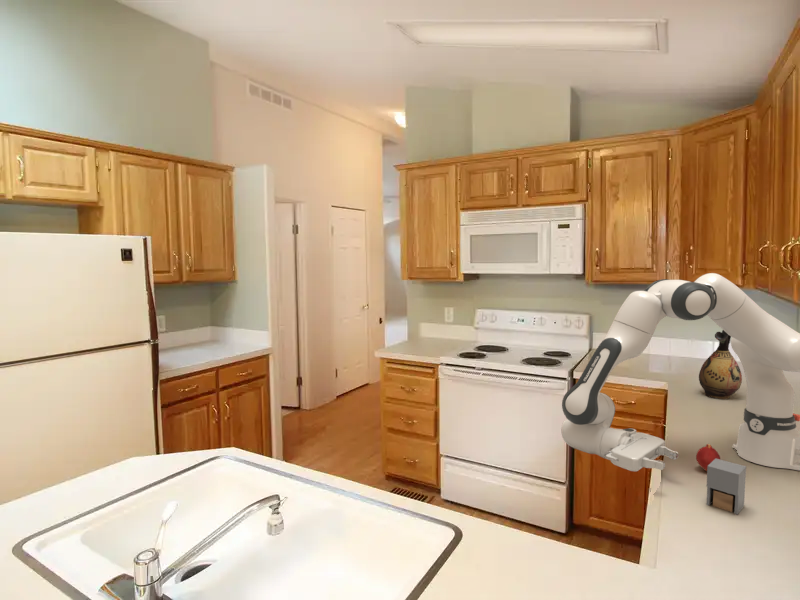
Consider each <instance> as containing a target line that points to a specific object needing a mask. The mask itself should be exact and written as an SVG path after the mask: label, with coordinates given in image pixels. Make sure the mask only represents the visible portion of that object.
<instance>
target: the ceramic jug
mask: <svg viewBox="0 0 800 600" xmlns="http://www.w3.org/2000/svg"><path fill="white" fill-rule="evenodd" d="M714 338H715V339H716V340H717V341H719V342H718V346H717V348H716V350H714V351H713V352H712V353H711V354H710V355H709V356H708V357H707V358H706V360H705V361H704V362H703V363H702V365H701V367H700V369H699V374H698V381H699V384H700V386H701V387H702V389H703V391H704V396H706V397H709V398H711V399H712V398H713V399H719V400H729V399H730V398H731V397H732V396H733V395H734V394H735V393H736V392H737V391H739V390H740V387H741V386H742V382H743V377H742V370H741V368H740V366H739V364H738V362H737V360H736V359H735V358H734V356H733V355H732V353H731V352H730V349H729V347H730V344H731V339H732V337H731V336H730V335H728V334H727V333H726V332H725V331H724V330H723V329H721V331H716V332H715V334H714Z"/></svg>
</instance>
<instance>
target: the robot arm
mask: <svg viewBox="0 0 800 600" xmlns="http://www.w3.org/2000/svg"><path fill="white" fill-rule="evenodd" d="M707 316H708V317H709V318H710V319H711V320H712V321H713V322H714V323H715V324H716V325H718V327H719V328H720V329H721V330H724V331H725V332H726V333H727V334H728V335H730V336H731V338H730V345H731V349H732V351H734V353H735V355H736V356H737V358H738V359H739V361H740V364H741V367H742V370H743V372H744V377H745V380H746V381H745V382H746V405H745V406H746V407H745V408H744V411H743V422H741V423H740V424H739V428H738V433H737V434H738V435H737V441H736V443H733V444H732V448H733V447H734V448H735V449H736V450H737V451H736V450H735V449H734V450H735V451H736V454H737V453H738V454H737V456H739V457H740V458H742V459H743V460H746V461H747V462H752V463H754V464H757V465H761V466H766V467H770V468H776V469H777V468H778V469H790V470H794V471H800V430H799V429H798V428H797V422H800V413H799V414H797V413H794V402H795V390H794V387H793V385H792V384H791V382H789V381H788V380H787V378H786V376H785V374H784V371H785V372H792V373H793V372H794V373H800V332H798V331H796V330H795V329H793V328H792V327H790V326H789V325H787V324H786V323H784V322H783V321H781V320H779V319H778V318H776V317H775V316H773V315H771V314H770V313H768V312H767V311H765V310H764V309H763V308H762V307H761V306H760V305H758V303H756V302H755V301H754V300H753V299H752V298H751V297H750V296H749V295H748V294H746V292H745V291H743V290H742V289H741V288H740V287H738V286H737V285H736V284H735V283H733V282H732V281H731V280H729V279H727V278H726V277H724V276H723V275H720V274H719V273H715V272H711V273H710V272H709V273H705V274H702V275H701V276H699V277H697V278H696V279H695V280H694V281H689V280H683V279H668V278H664V279H658V280H655V281H653V282H651V283H650V284H648V286H647V287H646V288H645V289H644V290H634V291H632V292H631V293H630V294H629V295H628V296H627V298H626V299H625V300H624V301H623V303H622V305H621V306H620V308H619V309H618V311H617V313H616V314H615V316H614V319H613V320H612V323H611V325H610V327H609V329H608V331H607V332H606V335H605V336H604V338H603V340H602V341H601V342H600V343H599V345H598V346H597V348H596V349H595V351H594V353H593V354H592V356H591V357H590V359H589V361H588V363H587V365H586V366H585V368H584V370H583V371H582V373H581V375H580V377H579V378H578V380H577V381H576V383H575V384H574V385H572V387H571V388H569V390H567V392H566V393H565V394H564V395H563V397H562V400H561V402H562V403H561V409H562V411H563V414H564V416H565V419H564V421H563V422H562V425H561V428H560V429H561V437H562V440H563V442H564V443H566V445H568V446H569V447H571V448H572V449H576V450H578V451H580V452H583V453H587V454H590V455H597V456H599V457H600V458H603V459H604V460H605V459H606V460H608V461H610V463H612V464H613V465H614V466H617V467H619V468H621V469H624V470H627V471H630V472H638V471H639V470H641V469H643V468H646V469H657V470H660V471H663V470H664V469H665V468H666V462H665V461H662V460H660V459H657V458H659V457H660V456H666V457H668V459H670V460H677V459H678V458H679V452H678V451H676V450H675V451H674V450H671V448H668V447H667V446H666V441H665V440H664V439H663V438H660V437H658V436H654V435H651V434H650V433H644V432H640V431H639V432H637V429H635V428H613V427H611V425H612V423H613V421H614V417H615V413H616V405H615V403H614V401H613V399H612V398H611V396H610V395H607V394H606V393H605V392H604V393H603V392H601V390H602V389H603V387H604V386H605V384H606V381H607V380H608V378H609V377H610V375H611V373H612V371H613V370H614V369H615V368H616V367H617V366H618V365H619V364H622V363H623V362H626V361H627V360H631V359H634V358H637V357H638V356H640V355H641V354H643V352H644V351H645V349H647V347H648V345H649V343H650V342H651V340H652V337H653V335H654V333H655V330H656V329H657V326H658V324H659V323H660V322H661V321H662V320H663V319H664V318H666V317H669V318H672V319H679V320H680V319H681V320H682V321H683V320H684V321H698V320H701V319H702V318H705V317H707ZM656 459H657V460H656Z"/></svg>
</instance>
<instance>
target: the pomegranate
mask: <svg viewBox="0 0 800 600" xmlns="http://www.w3.org/2000/svg"><path fill="white" fill-rule="evenodd" d="M695 457H696V458H695V459H696V462H697V464H698V465H699V466H700V467H701V468H702V469H703V470H704V471H705V472H707V467H708V465H709V464H710V463H711V462H712V461H713V460H715V459H720V460H722V459H721V456H720V454H719V452H718V451H717V450H716V449H715V448H714V447H712V445H711V444H709V443H708V444H706V445H705V446H703V447H701V448H699V449H698V451H697V452H696V456H695Z"/></svg>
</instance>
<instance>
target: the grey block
mask: <svg viewBox="0 0 800 600" xmlns="http://www.w3.org/2000/svg"><path fill="white" fill-rule="evenodd" d="M720 459H721V458H720ZM720 459H715V460H713V461H712V462H711V463H710V464H709V465H708V467H707V471H706V472H707V473H706V503H705V504H706V506H710V505H712V504H713V491H714V489H716V490H719V491H723V492H726V493H729V494H733V495H735V509H734V510H733V511H734V515H738V514H739V513H740V512H741V511H742V509H743V508H744V507H745V498H746V497H745V495H746V480H747V479H746V477H747V465H742V464H739V463H735V462H732V461H727V460H724V459H721V460H720Z"/></svg>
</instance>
